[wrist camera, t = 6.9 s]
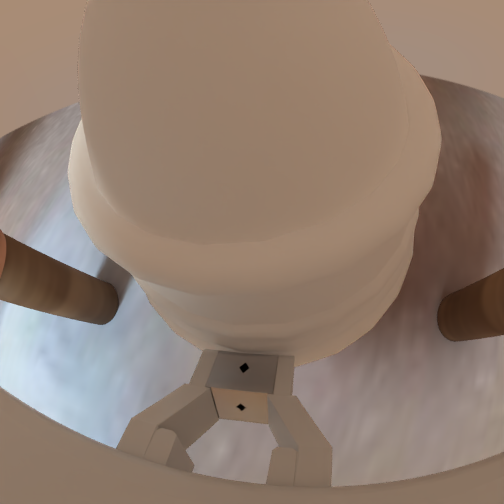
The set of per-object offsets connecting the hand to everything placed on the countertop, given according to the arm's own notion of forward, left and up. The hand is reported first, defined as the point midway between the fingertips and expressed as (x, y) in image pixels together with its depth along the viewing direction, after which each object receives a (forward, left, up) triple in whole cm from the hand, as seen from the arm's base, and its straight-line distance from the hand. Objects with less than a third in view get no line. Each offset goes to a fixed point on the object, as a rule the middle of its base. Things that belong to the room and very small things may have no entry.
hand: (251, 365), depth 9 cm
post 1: (-12, -1, -6) cm, 13 cm away
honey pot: (-2, +6, -7) cm, 9 cm away
